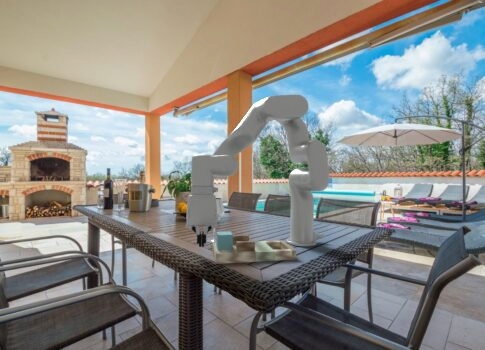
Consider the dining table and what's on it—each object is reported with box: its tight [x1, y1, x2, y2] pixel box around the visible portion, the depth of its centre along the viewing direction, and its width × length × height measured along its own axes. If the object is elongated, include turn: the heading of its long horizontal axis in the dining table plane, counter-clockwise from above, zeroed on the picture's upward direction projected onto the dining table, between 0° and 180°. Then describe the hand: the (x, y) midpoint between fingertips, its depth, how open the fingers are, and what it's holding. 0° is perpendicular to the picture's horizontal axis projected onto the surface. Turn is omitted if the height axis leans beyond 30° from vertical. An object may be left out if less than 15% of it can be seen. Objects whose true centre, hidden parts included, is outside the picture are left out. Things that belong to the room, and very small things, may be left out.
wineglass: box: [206, 197, 225, 244], centre depth 104 cm, size 8×8×18 cm
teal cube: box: [215, 230, 234, 250], centre depth 84 cm, size 5×5×5 cm
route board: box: [211, 234, 297, 265], centre depth 86 cm, size 27×13×6 cm, turn 102°
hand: (201, 245), depth 83 cm, fingers closed
